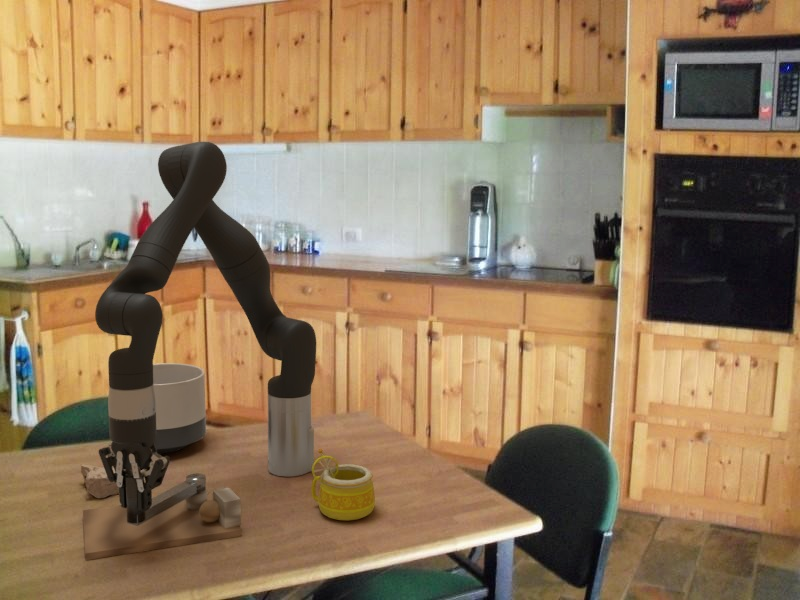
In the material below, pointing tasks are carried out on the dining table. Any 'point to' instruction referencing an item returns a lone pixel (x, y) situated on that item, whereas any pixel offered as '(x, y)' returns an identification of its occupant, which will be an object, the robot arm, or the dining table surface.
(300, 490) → the dining table surface
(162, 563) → the dining table surface
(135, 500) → the lever
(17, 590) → the dining table surface
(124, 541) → the board
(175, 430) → the planter
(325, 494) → the mug
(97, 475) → the stone
